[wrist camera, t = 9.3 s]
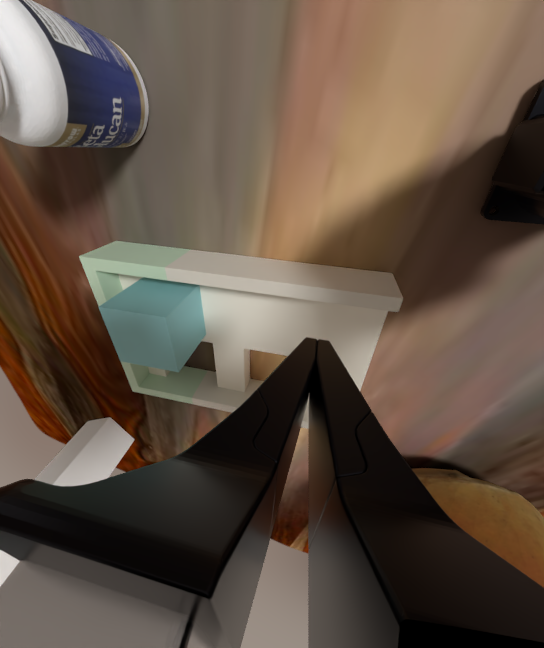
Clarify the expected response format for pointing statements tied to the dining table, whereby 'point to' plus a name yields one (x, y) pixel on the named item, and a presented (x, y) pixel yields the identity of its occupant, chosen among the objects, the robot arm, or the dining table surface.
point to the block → (155, 323)
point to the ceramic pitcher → (491, 517)
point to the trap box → (250, 314)
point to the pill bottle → (65, 83)
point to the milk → (81, 464)
